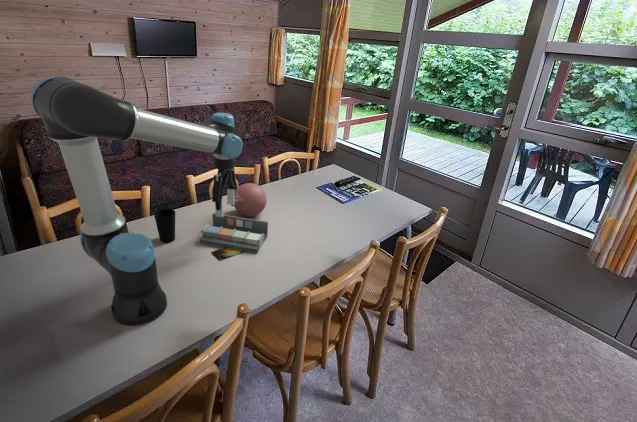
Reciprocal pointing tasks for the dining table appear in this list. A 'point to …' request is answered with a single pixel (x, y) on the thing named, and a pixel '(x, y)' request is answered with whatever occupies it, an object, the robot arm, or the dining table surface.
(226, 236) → the key terracotta
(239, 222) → the keypad
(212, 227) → the key slate
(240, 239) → the key sage
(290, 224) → the dining table surface
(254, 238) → the key cream
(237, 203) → the balloon
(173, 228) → the cup
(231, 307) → the dining table surface
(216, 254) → the smartphone
